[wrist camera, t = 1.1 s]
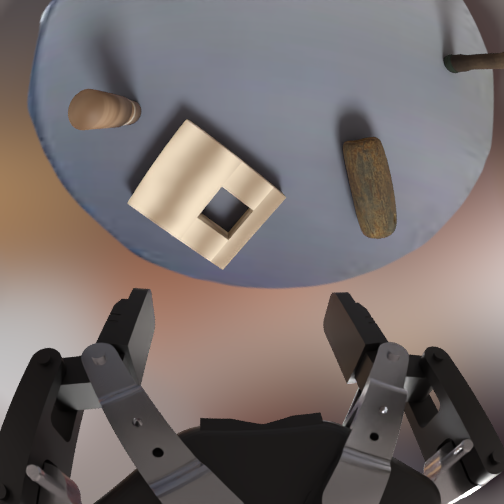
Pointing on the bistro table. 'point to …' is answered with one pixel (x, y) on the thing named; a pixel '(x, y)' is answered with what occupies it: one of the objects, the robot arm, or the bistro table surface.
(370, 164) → the stone weight
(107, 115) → the peg
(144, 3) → the bistro table surface
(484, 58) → the potato masher grenade
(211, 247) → the board
